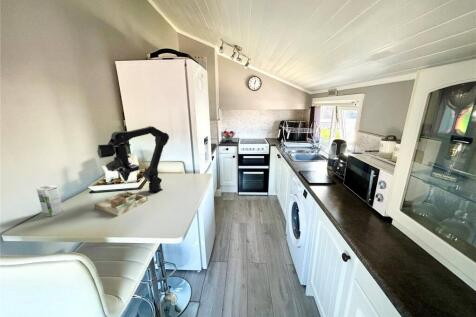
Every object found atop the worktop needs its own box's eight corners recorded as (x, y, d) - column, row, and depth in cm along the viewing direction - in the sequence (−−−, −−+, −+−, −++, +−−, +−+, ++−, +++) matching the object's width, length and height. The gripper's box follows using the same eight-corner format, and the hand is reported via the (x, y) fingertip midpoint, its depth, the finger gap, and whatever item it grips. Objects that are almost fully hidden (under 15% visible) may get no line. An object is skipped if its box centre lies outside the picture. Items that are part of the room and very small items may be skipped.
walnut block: (120, 203, 103) (119, 196, 102) (127, 205, 101) (125, 198, 100) (111, 207, 99) (110, 200, 98) (117, 209, 97) (116, 202, 96)
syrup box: (42, 215, 96) (35, 188, 92) (56, 209, 102) (49, 184, 98) (51, 216, 95) (43, 190, 91) (64, 210, 100) (57, 185, 97)
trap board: (126, 194, 119) (125, 188, 118) (148, 200, 111) (147, 193, 110) (95, 208, 103) (93, 200, 102) (118, 216, 95) (116, 207, 94)
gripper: (95, 156, 102) (101, 183, 106) (118, 159, 94) (123, 189, 98) (116, 151, 112) (120, 176, 116) (138, 155, 104) (142, 181, 108)
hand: (125, 181), depth 109 cm, fingers closed
